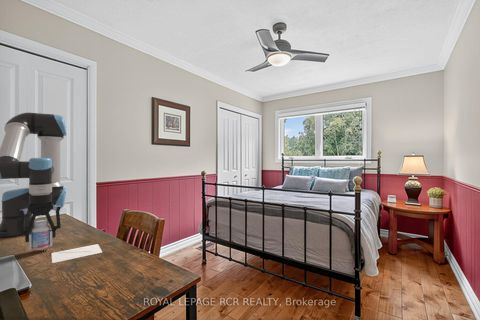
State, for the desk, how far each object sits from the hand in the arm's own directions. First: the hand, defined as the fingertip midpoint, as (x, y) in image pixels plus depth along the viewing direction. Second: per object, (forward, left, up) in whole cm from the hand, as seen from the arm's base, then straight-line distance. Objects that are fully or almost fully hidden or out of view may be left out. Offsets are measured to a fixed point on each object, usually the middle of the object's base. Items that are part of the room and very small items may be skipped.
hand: (40, 246), depth 102 cm
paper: (+12, +12, -2) cm, 17 cm away
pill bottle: (0, 0, -1) cm, 1 cm away
